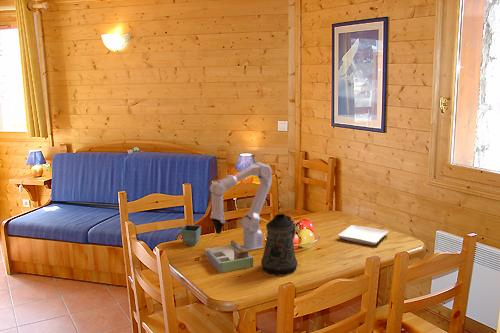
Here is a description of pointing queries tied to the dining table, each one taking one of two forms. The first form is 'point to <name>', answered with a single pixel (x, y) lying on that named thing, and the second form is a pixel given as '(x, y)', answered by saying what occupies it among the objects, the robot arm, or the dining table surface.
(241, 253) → the walnut block
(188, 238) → the flower pot
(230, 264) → the tray
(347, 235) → the salad plate
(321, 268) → the dining table surface
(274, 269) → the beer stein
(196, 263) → the dining table surface
